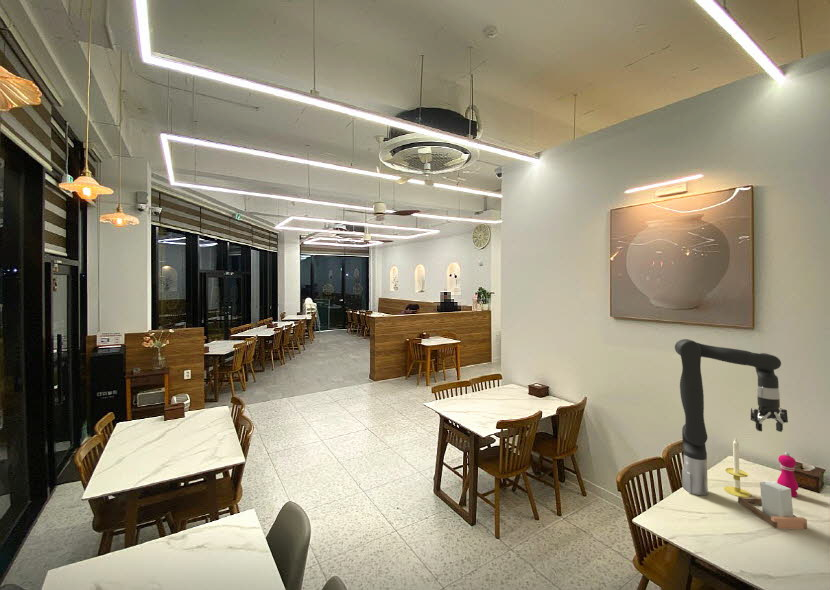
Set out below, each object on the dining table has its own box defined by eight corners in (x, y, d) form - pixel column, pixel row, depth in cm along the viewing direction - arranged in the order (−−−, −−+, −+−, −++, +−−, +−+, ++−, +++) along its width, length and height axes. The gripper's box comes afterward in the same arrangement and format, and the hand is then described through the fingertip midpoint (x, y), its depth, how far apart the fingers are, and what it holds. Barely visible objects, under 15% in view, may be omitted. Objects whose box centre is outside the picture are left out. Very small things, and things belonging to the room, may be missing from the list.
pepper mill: (803, 498, 172) (801, 456, 172) (785, 496, 174) (784, 455, 174) (790, 490, 179) (789, 449, 179) (773, 489, 181) (772, 448, 181)
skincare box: (794, 524, 153) (793, 489, 153) (783, 526, 152) (782, 490, 152) (771, 513, 161) (770, 479, 161) (760, 514, 160) (759, 481, 160)
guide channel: (774, 528, 151) (774, 522, 151) (738, 502, 170) (738, 497, 170) (807, 529, 150) (806, 523, 150) (766, 503, 169) (766, 497, 169)
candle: (748, 490, 180) (746, 435, 180) (753, 499, 172) (751, 442, 172) (722, 484, 185) (720, 432, 186) (725, 494, 177) (724, 438, 177)
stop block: (774, 528, 151) (774, 518, 151) (771, 525, 152) (770, 516, 152) (807, 529, 150) (806, 519, 150) (803, 527, 151) (803, 517, 151)
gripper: (758, 398, 167) (759, 433, 167) (792, 398, 166) (793, 434, 166) (745, 394, 175) (746, 428, 174) (777, 394, 173) (778, 428, 173)
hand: (769, 431), depth 170 cm, fingers open, 8 cm apart
